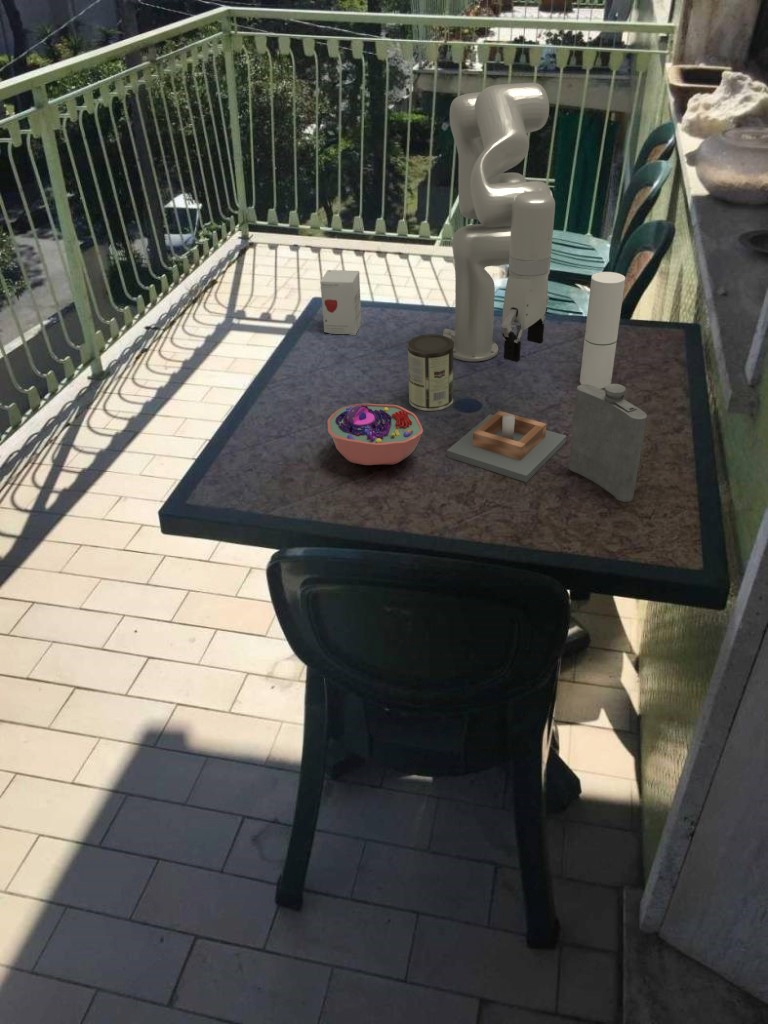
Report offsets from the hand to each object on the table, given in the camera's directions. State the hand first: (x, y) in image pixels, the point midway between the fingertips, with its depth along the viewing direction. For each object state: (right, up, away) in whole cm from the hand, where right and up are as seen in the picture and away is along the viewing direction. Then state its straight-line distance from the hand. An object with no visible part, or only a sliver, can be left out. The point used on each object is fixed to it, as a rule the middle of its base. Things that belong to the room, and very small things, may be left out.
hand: (523, 350), depth 159 cm
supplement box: (-38, +18, +63) cm, 76 cm away
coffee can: (-17, -6, +27) cm, 33 cm away
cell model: (-29, -21, +8) cm, 36 cm away
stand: (-2, -19, +8) cm, 21 cm away
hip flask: (+15, -26, -2) cm, 30 cm away
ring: (-2, -17, +8) cm, 19 cm away
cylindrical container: (+22, -1, +32) cm, 39 cm away
